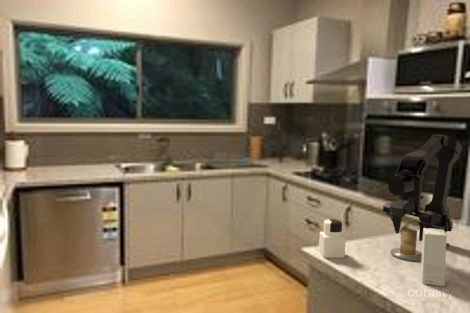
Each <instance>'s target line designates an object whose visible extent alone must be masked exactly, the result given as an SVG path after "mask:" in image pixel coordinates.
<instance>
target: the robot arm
mask: <svg viewBox="0 0 470 313" xmlns="http://www.w3.org/2000/svg"><path fill="white" fill-rule="evenodd" d="M462 148H463V146H462V144H461V143H460V141H458V140H456V139H453V138H450V137H449V136H447V135H445V134H432V135H431V136H430V137H429V139H428V140H427V141H426V142H425V143H424V144H423V145H421V147H419V148H418V149H417V150H415V151H411V152H408V153H407V154H405V155H403V157H402V158H401V160H400V162H399V164H398V166H397V168H396V171H395V174H394V178H391V179H390V180H389V182H388V190H389V192H390V193H391V194H392V195H394V196H398V200H396V201H394V202H388V203H384V204H383V206H382V212H385V214H386V215H387V216H388V217H390V219H391V222H392V226H393V228H394V231H395V234H400V232H401V230H400V229H401V225H402V219H403V217H405V216H406V215H408V216H412V217H417V218H418V219H419V221H417V223H418V225H419V234H418V237H419V238H418V239H419V241H420V242H423V228H433V229H443V230H444V231H445V233H446V234H447V232H452V231H453V226H454V224H453V221H452V219H451V217H450V209H449V207H448V205H447V200H448V193H449V187H450V182H451V175H452V170H453V165H454V164H455V163H456V162H457V161H458V160H459V158H460V155H461V153H462V151H463V149H462ZM434 156H435V159H436V161H437V168H436V174H435V180H434V185H433V192H432V196H431V200H430V202H429V203H428V204H427V203H426V204H425V206H424V211H423V207H421V200H423V199H424V195H422V187H423V186H422V183H423V179H425V176H424V173H425V172H426V170H427V168H428V167H429V161H430V160H431V159H432V158H433V157H434ZM422 211H423V212H422ZM447 246H450V243H449V242H448V243H447V242H446V247H447Z"/></svg>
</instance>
